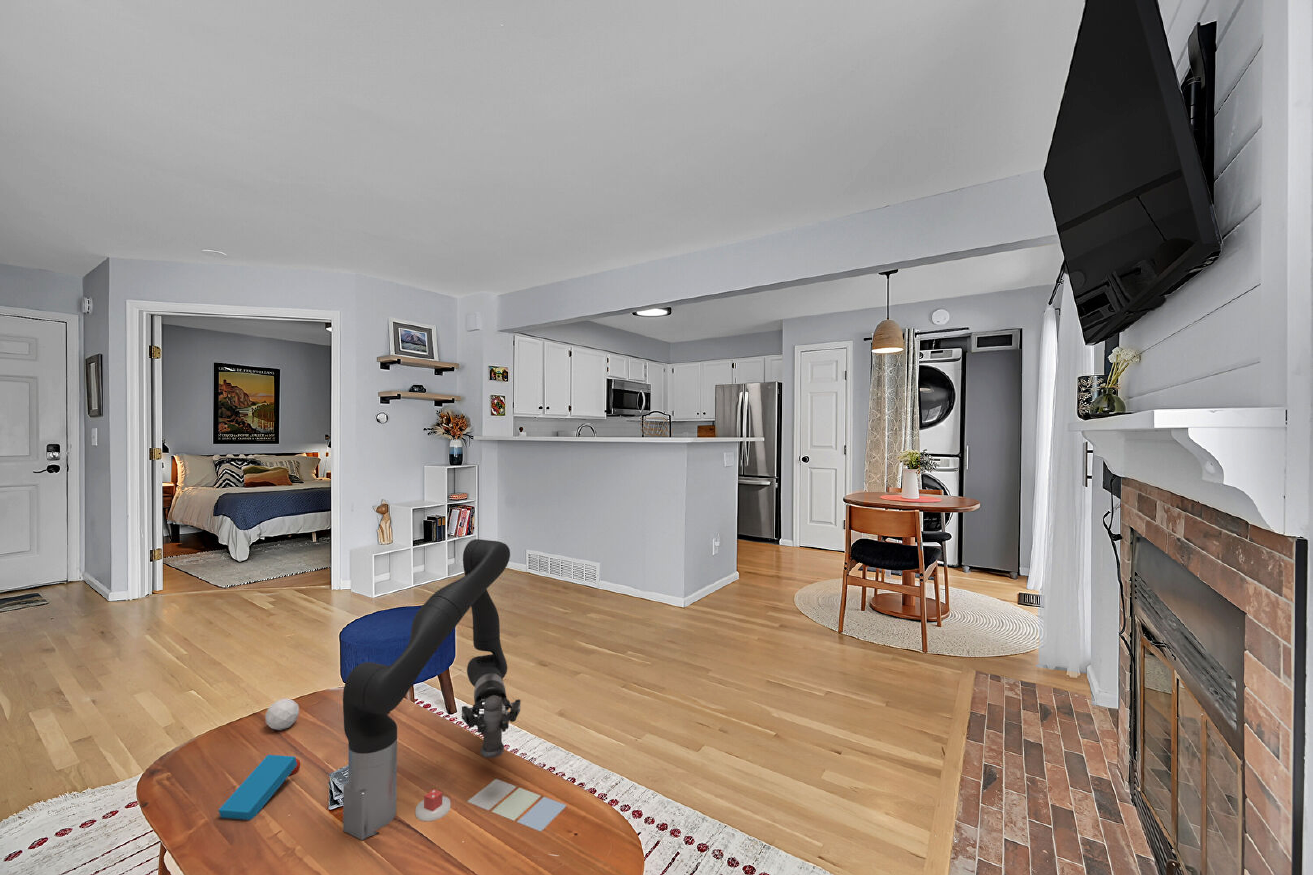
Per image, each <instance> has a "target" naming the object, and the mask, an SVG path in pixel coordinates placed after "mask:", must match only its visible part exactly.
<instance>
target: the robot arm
mask: <svg viewBox="0 0 1313 875" xmlns="http://www.w3.org/2000/svg"><path fill="white" fill-rule="evenodd" d="M510 557H511V549H510V548H509V546H508V545H507V543H505V542H502V541H498V540H489V539H478V538H477V539H476V538H475V539H472V540H470V541H468V543H467V544H466V545H465V547H464V550H463V553H462V564H463V565H462V566H463V573H464V576H463V577H461V578H459V579H457V580H455V581H452V582H451V583H449V584H447V585H445V586H443V587H441V588H440V589H439V590H436V591H435V592H434V593H433V594H432V595H431V596H430V597H429V598H428V599H427V600H426V601H425V603H423V605H422V606H421V607H420V608H419V609H418V610H417V611H416V613H415V615H414V618H413V620H412V624H411V631H410V638H409V641H408V644H407V646H406V648H405V649H404V651H403V652H402V653H401V654H400V655H399V657H398V658H397V659H396V660H395V661H394V662H393V663H392V664H391V665H386V664H385V665H384V664H381V663H376V662H370V661H369V662H362V663H360V664H358V665H357V666H355V667H354V668H353V669H352V670H351V671H350V672H349V674H348V676H347V678H346V680H345V682H344V686H343V692H342V710H343V712H342V713H343V729H344V730H343V731H344V734H345V737H346V739H347V742H348V746H347V747H348V762H347V763H348V764H347V769H348V770H347V783H345V784H344V785H343V794H342V795H343V799H342V800H343V801H342V803H343V805H342V806H343V808H342V809H343V810H342V823H343V824H342V831H343V832H345V833H347V834H349V835H351V836H353V837H355V838H358V840H359V839H360V840H362V841H363V840H365V839H366V838H368V837H369V838H370V837H372V836H375V835H378V834H380V832H379V831H377V830H379V829H382V828H383V827H385V826H387V825H388V824H389V823H391V822H392V821H393V820H394V819H395V817H396V816H397V815H396V814H397V792H398V791H397V789H398V788H397V787H398V786H397V784H398V783H397V782H398V779H397V778H398V771H397V770H398V725H397V723H396V722H395V720H394V719H393V718H392V717H390V715H388V714H390V713H391V712H392V711H394V709H396V708H397V707H398V706H399V704H400V703H401V702H402V701H403V700H404V698H405V697H406V695H407V694H408V692H409V691H410V689H411V688H412V686H413V685H414V683H415V682H416V680H417V679H418V677H419V675H420V674H421V672H422V671H423V670H424V668H425V666H426V665H427V663H429V661H430V659H431V658H432V657H433V656H434V654H435V653H436V651H437V650H438V649H439V648H440V646H441V645H442V643H444V641H445V640H446V639H447V637H449V636H450V634H451V633H452V632H453V631H454V629H455V628H456V627H457V625H458V624H459V623H460V622H461V620H462V619H463V618H464V616H465V615H466V613H467V612H468V610H470V608H471V614H472V637H473V638H472V640H473V642H472V643H473V648H474V649H475V650H477V651H480V652H489V653H491V654H485V655H478V656H477V655H476V656H474V657H472V658H471V659H469V662H468V663H467V668H466V673H467V674H466V676H467V678H468V681H469V682H470V684H471V685H472V686H473V687H474V690H473V691H474V692H473V701H474V702H473V705H472V707H468V706H467V705H463V706H462V707H461V720H462V721H463V722H464V723H465V724H466V725H467V727H469V728H472V729H473V728H474V727H475V726H476V727H477V728H476V729H477V733H478V734H480V735H484V727H485V726H484V703H485V701H486V699H487V698H488V697H490V696H493V695H495V696H498V697H500V698H501V700H502V733H505V732H507V730H508V729H509V727H510V726H509V722H511V723H513V722H516V721H517V718H518V716H519V715H520V712H521V699H516V700H514V701H513V702H510V700H509V699H507V698H508V697H507V693H506V686H505V683H504V680H503V679H504V678H505V676H506V675H507V672H508V664H507V663H508V662H507V660H506V656H505V654H504V651H503V649H502V648H503V647H502V645H501V644H502V643H501V636H500V635H501V630H500V629H501V628H500V627H501V626H500V625H501V624H500V615H499V613H498V610H497V607H496V605H495V603H494V601H493V599H492V597H491V596H490V593H489V591H488V588H489V587H491V585H492V584H493V583H494V582H495V581H496V580H497V579H498V578H499V577H500V576H501V575H502V574H503V572H504V571H505V569H507V566H508V564H509V561H510ZM509 709H510V710H509Z"/></svg>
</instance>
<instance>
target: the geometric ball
mask: <svg viewBox="0 0 1313 875" xmlns="http://www.w3.org/2000/svg"><path fill="white" fill-rule="evenodd" d="M299 714H300V707H299V704H298V703H297V702H296V701H294V699H289V698H282V699H279V700H276V701H274V703H272V704H271V705H270V706H268V709H267V711H266V713H265V715H264V716H265V724H266V725H268V727H269V728H271V729H272V730H277V731H282V730H286V729H288V728H291V726H293V724H294V723H295V722H297V719H298V717H299Z"/></svg>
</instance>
